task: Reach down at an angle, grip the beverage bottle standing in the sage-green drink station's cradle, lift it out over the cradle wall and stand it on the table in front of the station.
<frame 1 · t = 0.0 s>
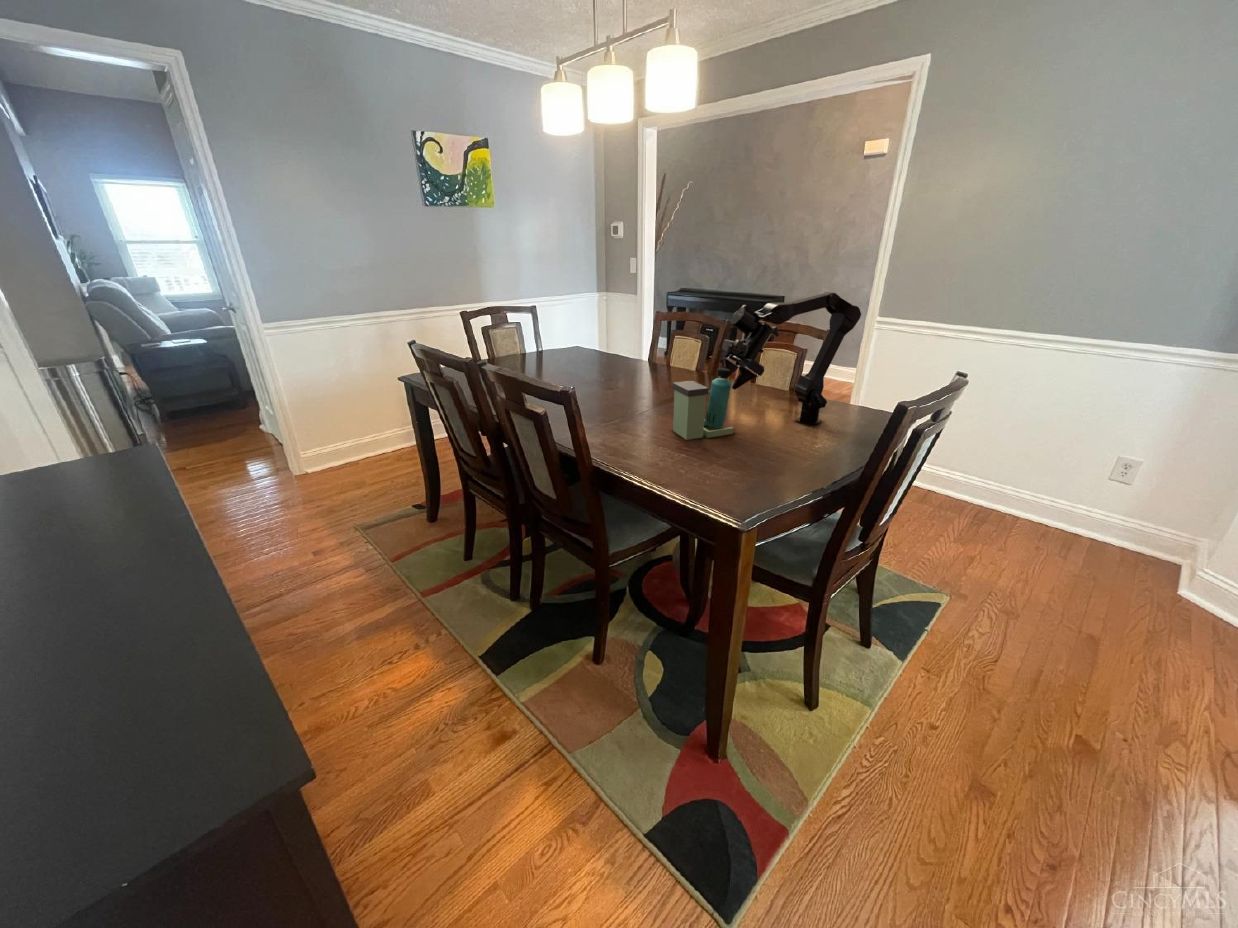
hand: (726, 385, 155), 15 cm above the table, tool tilted 35°, fingers open, 9 cm apart
drink station: (713, 430, 160), on the table
beverage bottle: (713, 429, 160), resting in drink station
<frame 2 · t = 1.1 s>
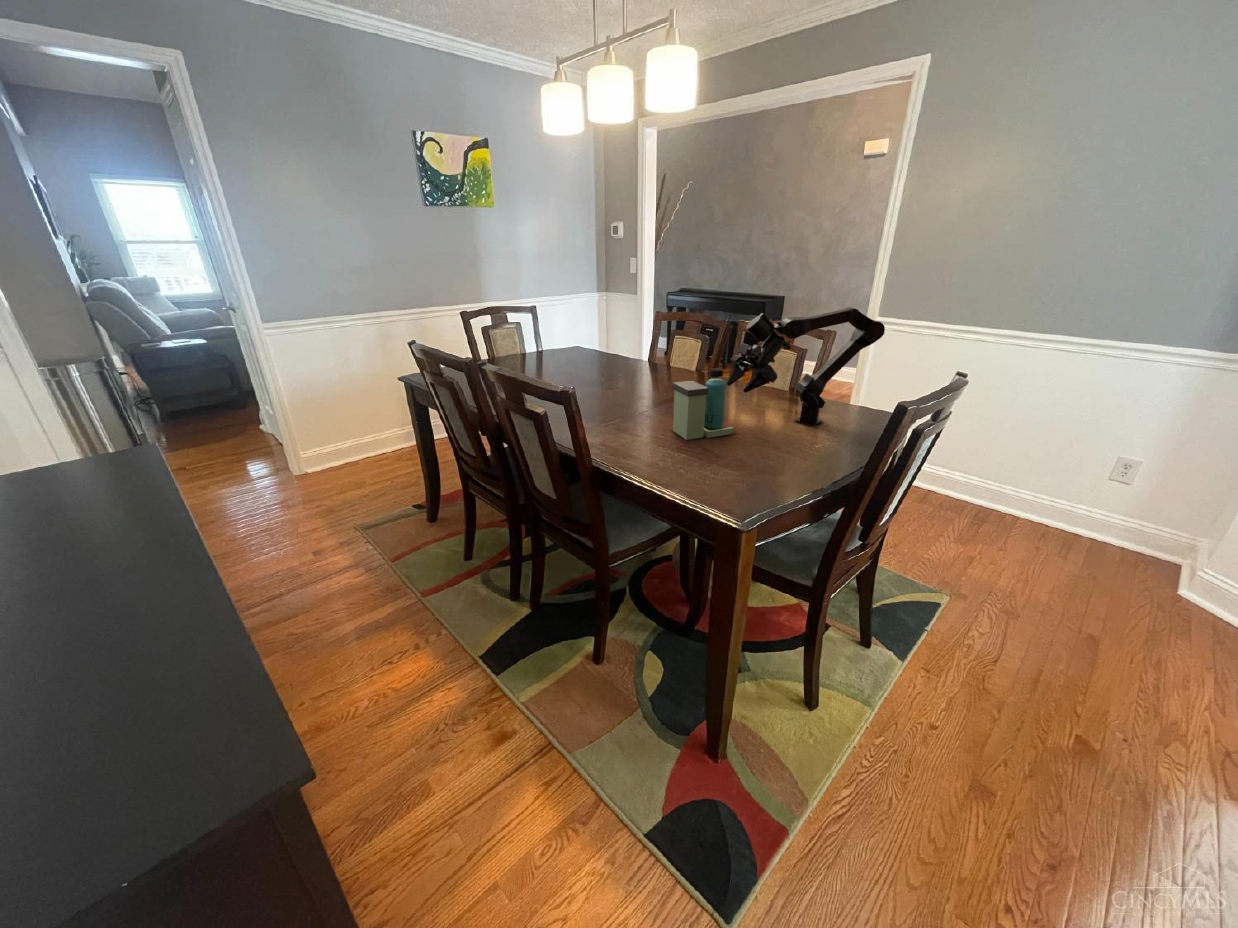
hand: (735, 388, 158), 13 cm above the table, tool tilted 45°, fingers open, 9 cm apart
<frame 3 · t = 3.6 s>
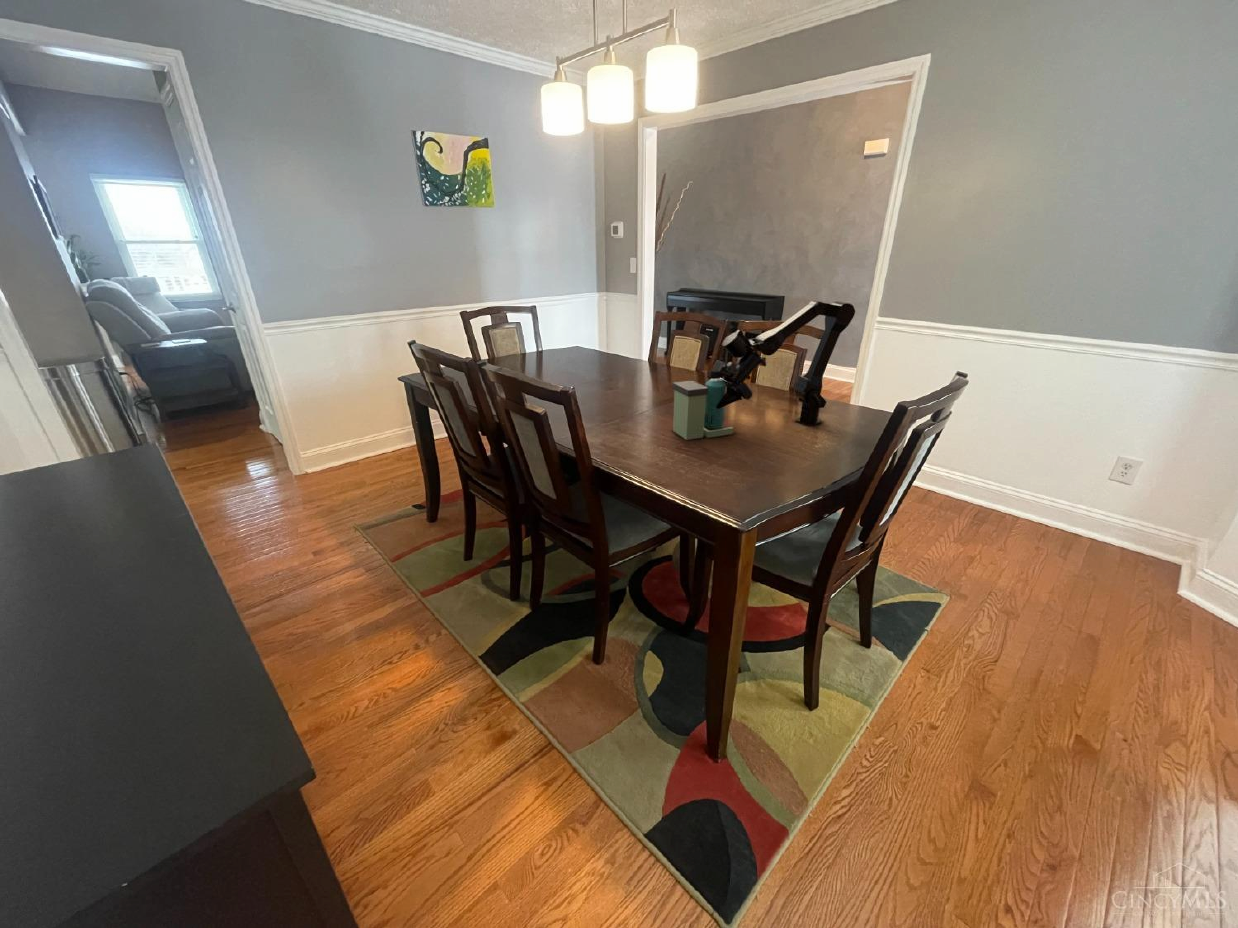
hand: (711, 405, 156), 9 cm above the table, tool tilted 45°, fingers closed on beverage bottle, 6 cm apart
beverage bottle: (713, 430, 161), resting in drink station, touching gripper
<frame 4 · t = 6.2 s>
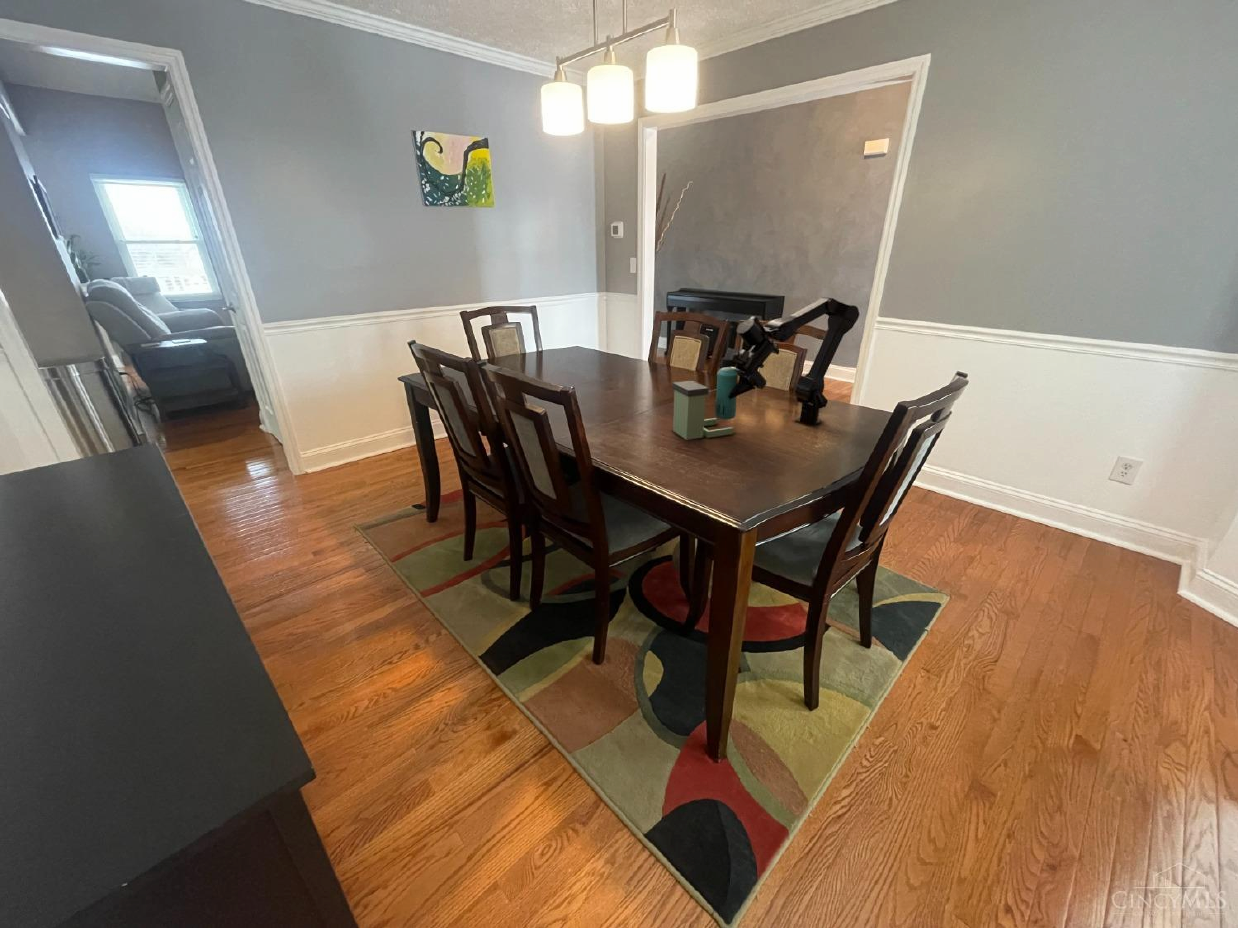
hand: (723, 395, 150), 13 cm above the table, tool tilted 45°, fingers closed on beverage bottle, 6 cm apart
beverage bottle: (724, 421, 155), point 5 cm above the table, touching gripper
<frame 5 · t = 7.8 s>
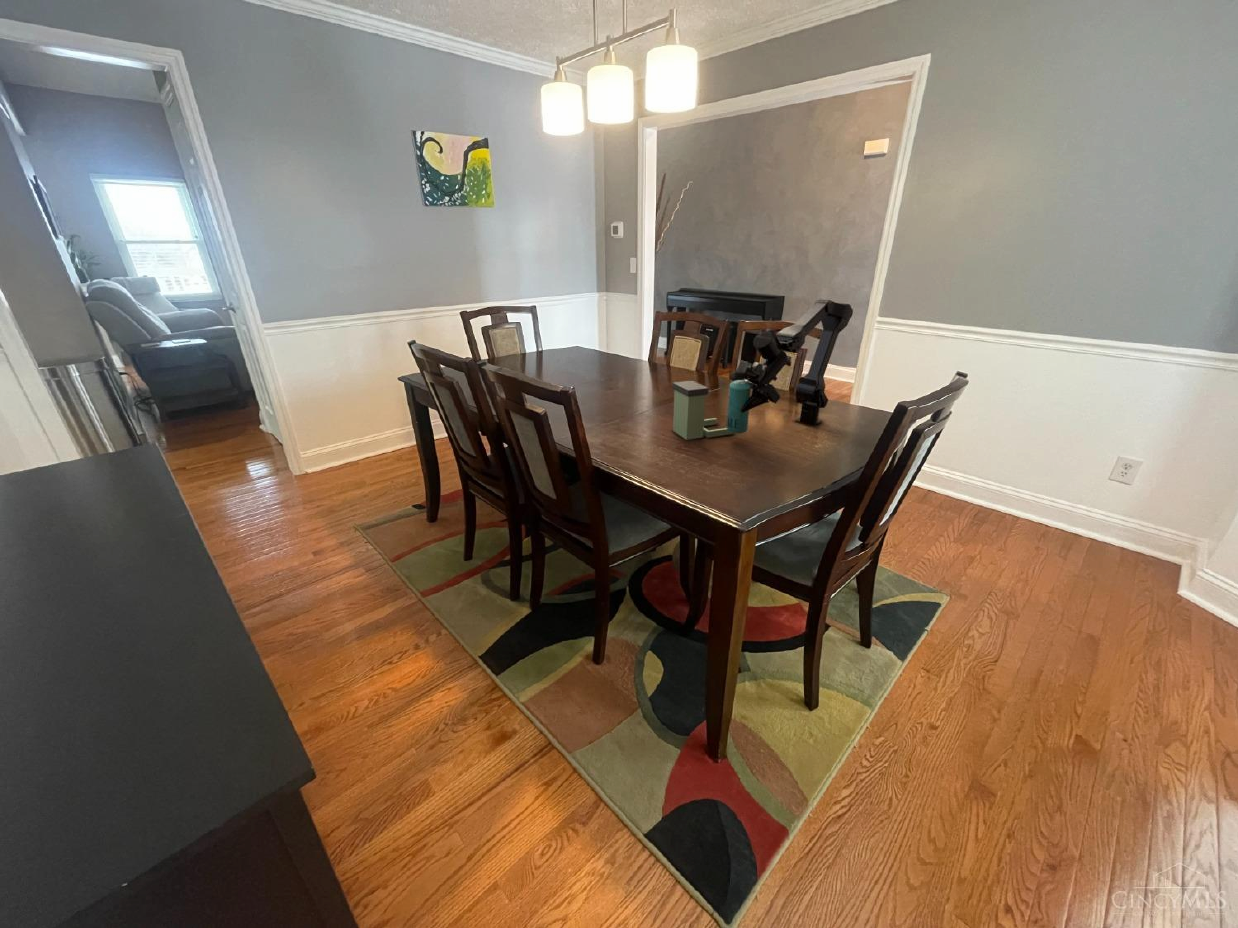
hand: (735, 408, 146), 11 cm above the table, tool tilted 45°, fingers closed on beverage bottle, 6 cm apart
beverage bottle: (736, 434, 151), point 2 cm above the table, touching gripper
when the fingers open (9 cm above the table, at t = 9.0 s): beverage bottle stays where it is, on the table.
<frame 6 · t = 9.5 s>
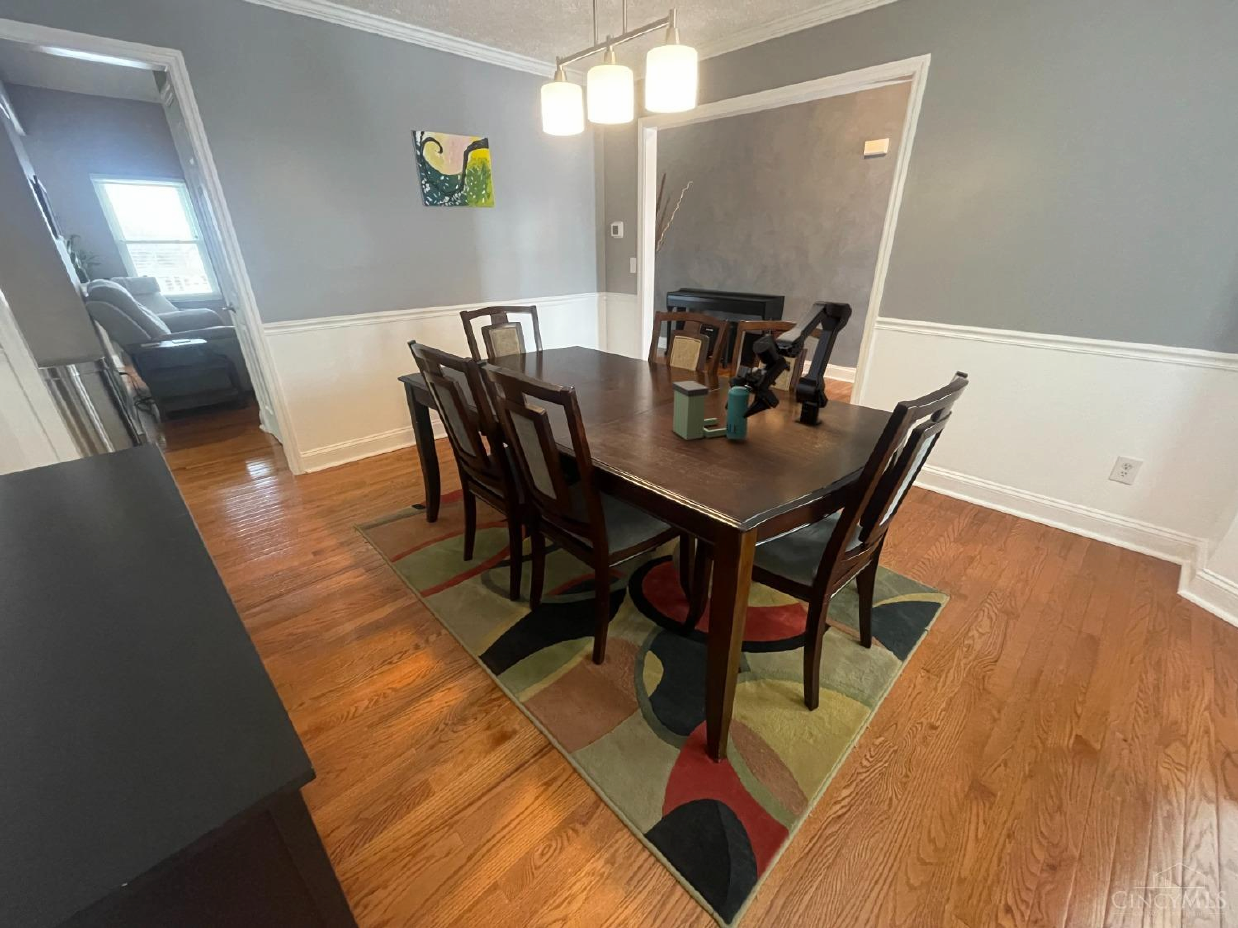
hand: (734, 413, 147), 9 cm above the table, tool tilted 45°, fingers open, 9 cm apart
beverage bottle: (735, 440, 152), on the table, touching gripper
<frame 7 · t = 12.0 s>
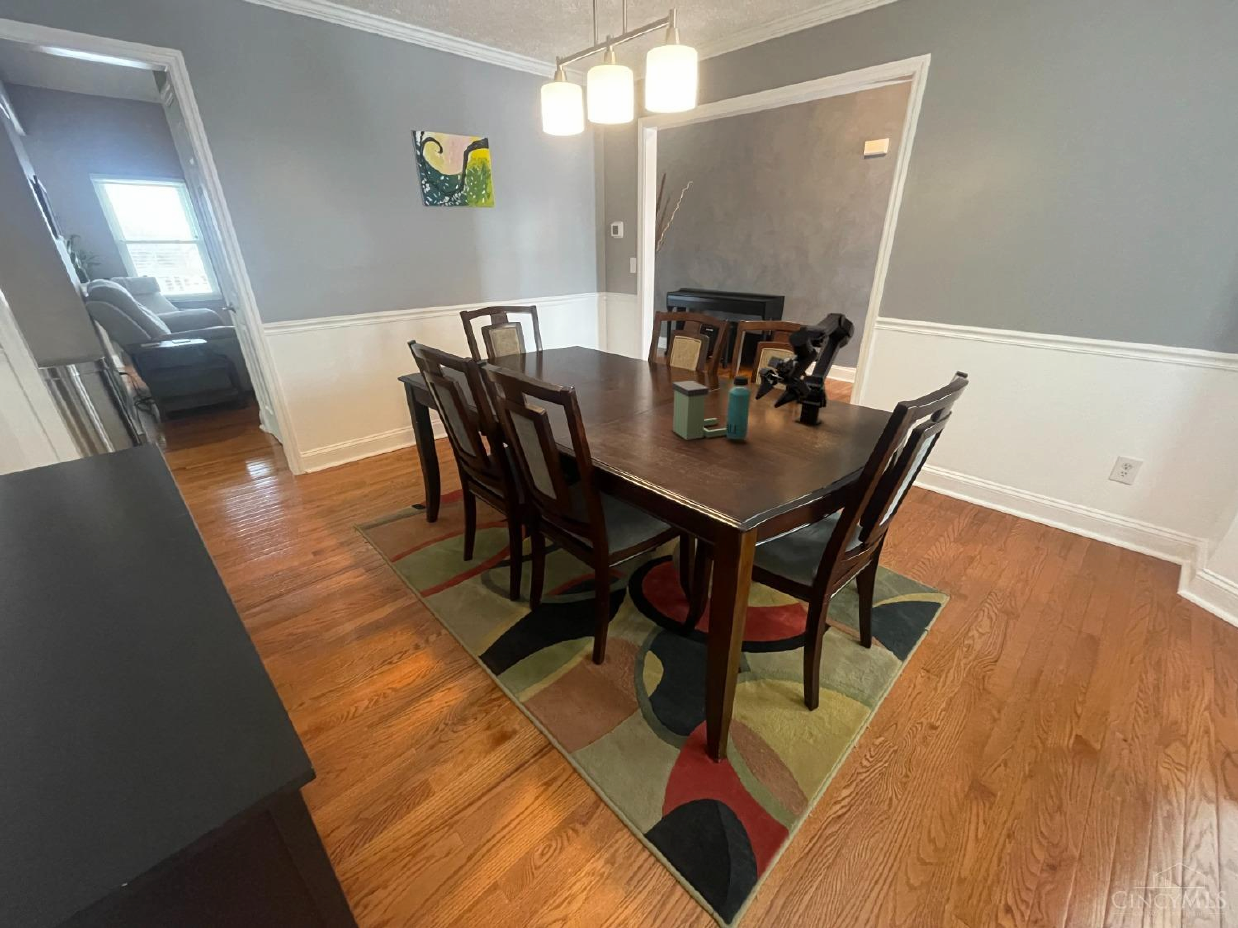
hand: (765, 403, 150), 11 cm above the table, tool tilted 45°, fingers open, 9 cm apart
beverage bottle: (735, 441, 152), on the table
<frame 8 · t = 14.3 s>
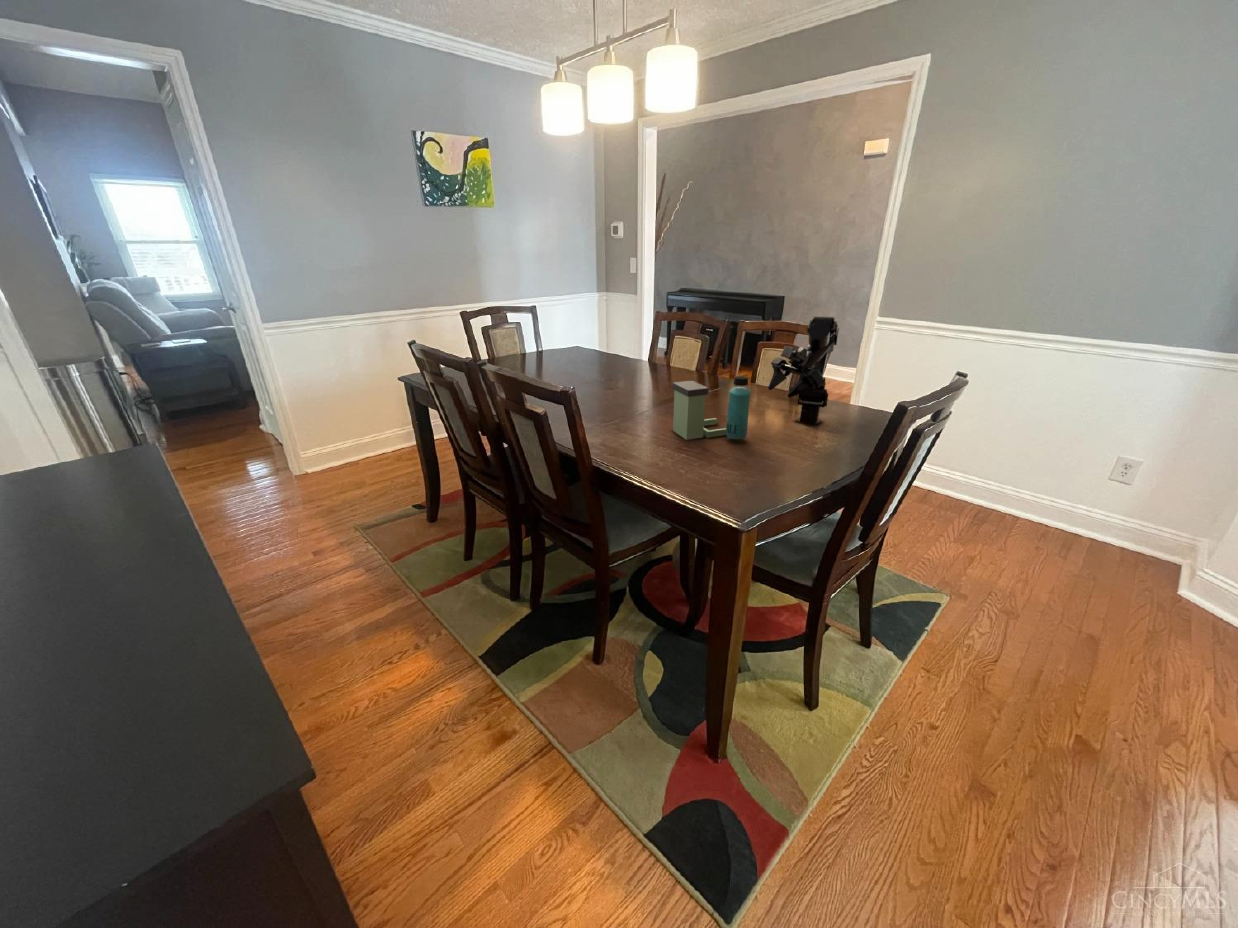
hand: (778, 393, 151), 14 cm above the table, tool tilted 45°, fingers open, 9 cm apart
nothing on the table moved.
at the end: beverage bottle inside the target area (0.6 cm from its centre), on the table; beverage bottle tilted 0°; the gripper is holding nothing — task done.
